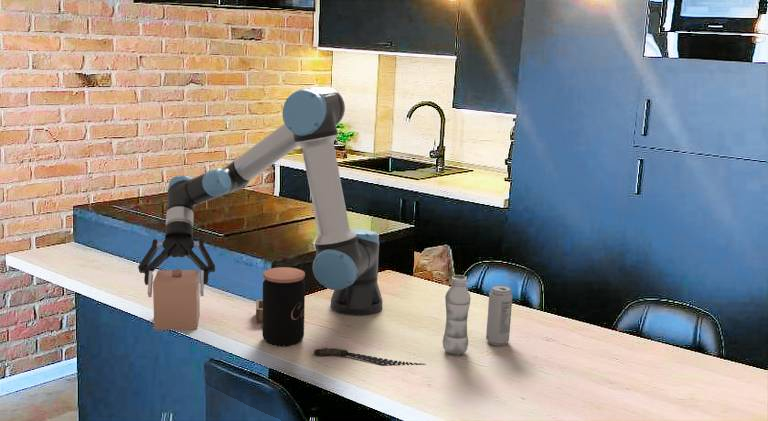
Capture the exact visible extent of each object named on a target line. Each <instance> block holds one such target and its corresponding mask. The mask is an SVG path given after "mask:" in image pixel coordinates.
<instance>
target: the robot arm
mask: <svg viewBox="0 0 768 421" xmlns="http://www.w3.org/2000/svg"><path fill="white" fill-rule="evenodd" d="M345 110H346V105H345V101H344V99H343V96H342V95H341V94H340V93H339V92H338V91H337V90H336V89H334V88H332V87H330V86H317V87H306V88H305V87H303V89H302V88H301V89H298V90H296V91H294V92H292V93H291V94H290V95H289V96H288V97H287V98H286V100H285V102H284V104H283V107H282V111H281V113H282V120H283V124H281V125H280V126H278V128H276V129H275V130H274V131H272V132H271V133H269V134H267V136H266V137H264V138H263V139H262V140H260V141H259V142H257V143H256V144H254V146H252V147H250V148H249V149H248V150H246V152H244V153H242V154H240V156H239V157H237V158H236V159H234V160H233V161H231V162H230V163H229V164H228V165H227V166H225V167H223V168H220V167H219V168H215V169H212V170H208V171H207V172H204V173H202V174H200V175H198V176H196V177H194V178H192V177H190V176H188V175H181V176H179V175H175V176H174V177H172V178H171V179H170V180H169V183H168V188H167V192H166V193H167V194H166V195H167V200H166V201H167V204H166V214H165V230H164V232H165V234H164V239H163V241H160V240H157V239H156V238H155V239H152V243H151V247H150V248H149V250H148V251H147V253H146V254H145V256H144V258H143V259H142V260H141V261H140V263H139V265H138V267H137V268H138V273H140V274H144V280H143V282H144V285H145V286H147V295H148V298H153V297H152V296H153V281H154V280H153V279H154V274H153V272H154V271H155V270H157V268H158V267H159V266H161V265H162V263H164V262H165V261H166V260H168V259H169V258H170V257H172V258H178V257H179V258H184V257H187V258H188V259H190V260H191V261H192V262H193V263H194V264H195V265H196V266H197V268H198V269H199V270H200V280H199V283H200V297H204V295H205V294H204V292H205V285H207V284H209V274H210V273H214V272H216V264H215V263H214V261H213V260H212V257H211V256H210V254H209V252H208V250H207V248H206V247H205V244H204V239H202V238H200V239H199V240H197V241H193V239H194V235H193V234H194V219H195V218H194V216H195V215H194V214H195V206H198V205H201V204H203V203H206V202H208V201H211V200H214V199H217V198H219V197H223V196H225V195H228V194H231V193H233V192H237V191H241V190H242V189H243V188H246V187H247V186H248V184H249V183H250V181H252V180H254V178H256V177H257V176H259V175H260V174H261V173H263V172H264V171H266V170H267V169H268V168H269V167H271V166H272V165H274V164H275V163H277V162H278V161H280V160H282V158H283V157H285V156H286V155H288V154H290V153H291V152H292V151H293V150H295V149H296V148H297V147H299V148H301V150H302V156H303V161H304V166H305V171H306V176H307V177H306V178H307V181H308V182H307V183H308V187H309V193H310V198H311V203H312V208H313V213H314V218H315V223H316V229H317V233H318V236H317V237H316V239H314V240H315V241H314V247H315V248H314V249H315V252H316V255H315V258H314V260H313V262H312V272H313V276H314V278H315V279H316V280H317V282H318V283H319V284H320V285H322V286H323V287H325V288H326V289H328V290H332V291H333V292H332V294H331V298H330V308H331V309H332V310H333V311H334V312H336V313H338V314H343V315H349V316H369V315H374V314H376V313H379V312H380V311H382V309H383V303H384V302H383V297H382V294H381V293H382V292H381V290H380V287H379V283H378V274H379V272H378V271H379V254H380V253H379V252H380V240H379V239H380V235H379V234H378V233H377V232H376V231H373V230H367V229H359V228H358V229H357V228H350V224H349V218H348V212H347V207H346V202H345V197H344V192H343V187H342V186H343V185H342V182H341V181H342V180H341V176H340V170H339V164H338V160H337V154H336V148H335V144H334V142H335V140H336V139H337V137H338V135H339V134H338V129H337V125H338V124H340V122H342V119H343V117H344V116H345V112H346V111H345ZM162 247H163V250H162V251H161V253H159V254H158V256H157V257H155V255H156V253H157V252H158V250H160V249H161V248H162ZM195 247H196V249H197V250H199V252H200V254H201V256H202V258H203V259H204V260H205V263H204V261H203V260H202V259H201V258H200V257H198V255H197V254H196V253H195V252H194V250H193V249H194V248H195ZM154 257H155V258H154Z"/></svg>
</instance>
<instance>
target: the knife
mask: <svg viewBox="0 0 768 421" xmlns="http://www.w3.org/2000/svg"><path fill="white" fill-rule="evenodd" d="M313 355H314V356H317V357H339V358H347V357H349V358H352V359H356V360H359V361H363V362H366V363H368V364H369V363H370V364H372V365H376V366H380V367H390V366H391V367H392V366H398V367H399V366H425V365H427V363H422V362H420V363H419V362H410V361H402V360H399V361H398V360H393V359H388V358H384V359H383V358H382V357H379V358H378V356H377V357H376V356H371V355H366V354H361V353H355V352H349V350H347V349H342V348H335V347H322V348H318V349H314V350H313Z"/></svg>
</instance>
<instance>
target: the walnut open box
mask: <svg viewBox="0 0 768 421" xmlns="http://www.w3.org/2000/svg"><path fill="white" fill-rule="evenodd" d="M255 324H263V299H256V300H255Z"/></svg>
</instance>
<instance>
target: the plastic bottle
mask: <svg viewBox="0 0 768 421" xmlns="http://www.w3.org/2000/svg"><path fill="white" fill-rule="evenodd" d="M467 280H468V279H467V277H466V276H465V275H462V274H455V275H452V276H451V282H450V285H451V286H450V288H448V290H447V291H446V293H445V296H444V297H445V299H444V300H445V313H446V314H445V316H446V318H445V319H446V320H445V321H446V322H445V329H444V333H443V337H442V348H443V349H444V351H445V352H446V353H447V354H450V355H455V356H456V355H463V354H466V352H467V350H468V347H469V337H468V336H469V335H468V318H469V317H468V315H469V309H470V305H471V299H472V298H471V293H470V291H469V290H468V288H467V287H466V286H467V284H468V283H467Z"/></svg>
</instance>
